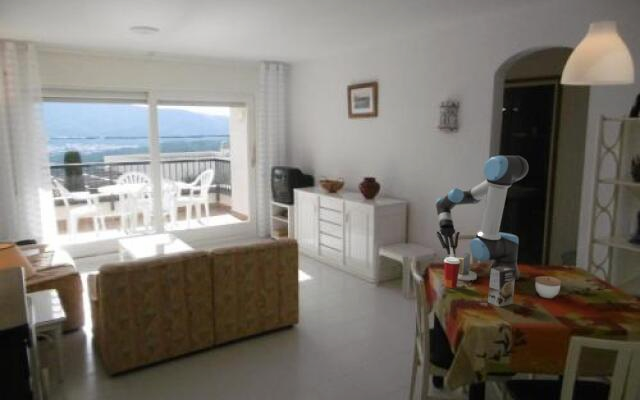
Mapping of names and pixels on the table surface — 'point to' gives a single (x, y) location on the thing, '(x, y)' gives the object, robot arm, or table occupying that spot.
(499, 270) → the coffee box
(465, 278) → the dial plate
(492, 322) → the table surface
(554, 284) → the white bowl
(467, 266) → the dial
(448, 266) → the paper cup
